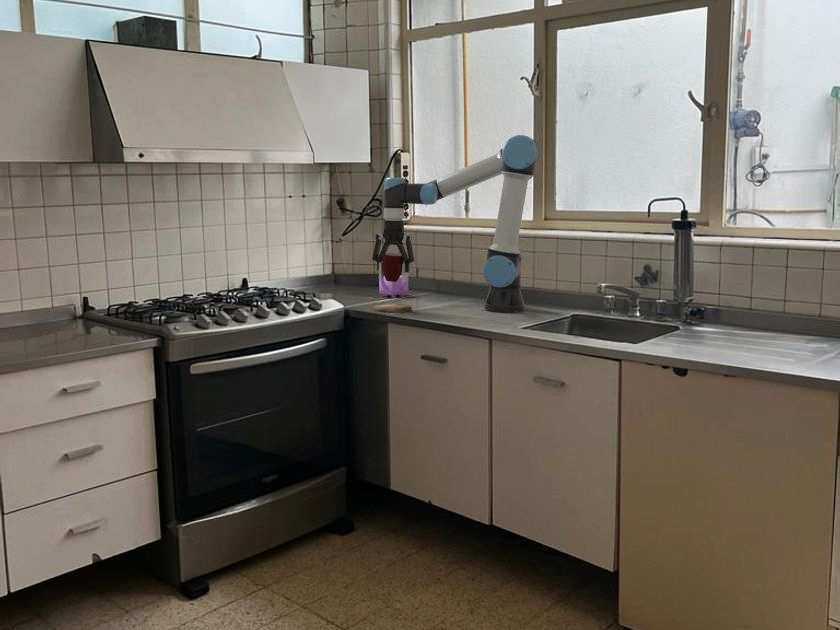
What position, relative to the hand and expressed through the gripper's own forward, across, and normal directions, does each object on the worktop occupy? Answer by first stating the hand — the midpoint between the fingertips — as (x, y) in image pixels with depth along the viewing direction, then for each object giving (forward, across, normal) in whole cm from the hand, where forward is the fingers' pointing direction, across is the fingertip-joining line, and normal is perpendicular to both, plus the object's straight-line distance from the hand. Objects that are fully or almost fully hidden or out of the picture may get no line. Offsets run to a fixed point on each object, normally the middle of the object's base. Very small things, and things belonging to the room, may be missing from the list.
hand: (392, 280), depth 323 cm
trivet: (+11, 0, 0) cm, 11 cm away
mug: (+1, 0, 0) cm, 1 cm away
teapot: (+11, +14, -35) cm, 39 cm away
